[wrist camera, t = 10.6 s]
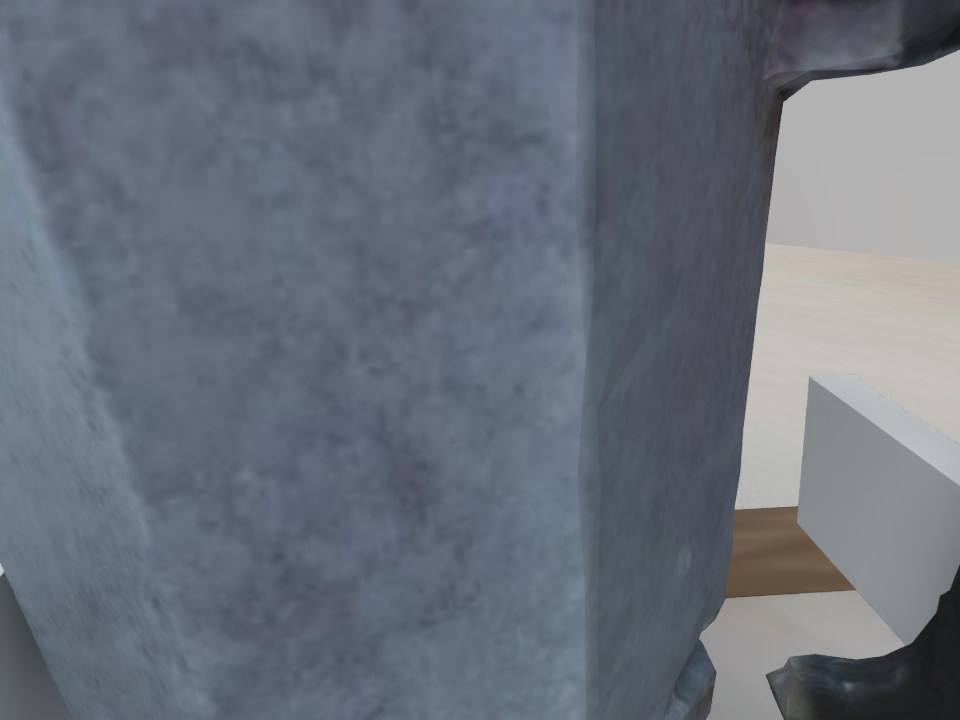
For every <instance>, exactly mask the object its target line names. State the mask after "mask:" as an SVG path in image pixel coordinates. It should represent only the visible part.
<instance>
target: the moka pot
mask: <svg viewBox="0 0 960 720" xmlns="http://www.w3.org/2000/svg"><path fill="white" fill-rule="evenodd" d="M957 50H960V0H0V563H1V565H2V568H3V570H4V572H5V574H6V577H7V579H8V581H9V583H10V585H11V588H12V590H13V592H14V594H15V596H16V599H17V601H18V603H19V605H20V608H21V610H22V612H23V614H24V616H25V619H26V621H27V623H28V625H29V628H30V630H31V632H32V634H33V636H34V639H35V641H36V643H37V645H38V647H39V649H40V651H41V654H42V656H43V658H44V660H45V662H46V664H47V667H48V669H49V671H50V673H51V675H52V677H53V679H54V682H55V684H56V686H57V688H58V690H59V692H60V694H61V697H62V699H63V701H64V703H65V705H66V707H67V709H68V712H69V714H70V716H71V718H72V719H73V720H706V718H707V716H708V715H709V713H710V709H711V703H712V696H713V690H714V684H715V678H716V671H715V668H714V666H713V664H712V662H711V660H710V658H709V656H708V654H707V652H706V650H705V648H704V645H703V644H702V642H701V641H700V640H699V636H700V634H701V632H702V631H703V630H705V629H706V628H707V627H708V626H709V625H710V624H711V623H712V622H713V621H714V620H715V618H716V616H717V614H718V612H719V611H720V609H721V607H722V605H723V603H724V601H725V597H726V586H727V576H728V569H729V563H730V557H731V552H732V545H733V526H734V507H735V501H736V494H737V488H738V482H739V476H740V468H741V453H742V438H743V426H744V418H745V410H746V401H747V393H748V385H749V376H750V368H751V360H752V351H753V343H754V334H755V325H756V315H757V306H758V299H759V293H760V286H761V280H762V273H763V261H764V250H765V238H766V230H767V222H768V214H769V207H770V199H771V190H772V182H773V173H774V165H775V156H776V149H777V142H778V135H779V128H780V121H781V114H782V107H783V102H784V101H785V100H787V99H788V98H789V97H791V96H792V95H793V94H794V93H796V92H797V91H798V90H800V89H801V88H802V87H804V86H805V85H806V84H808V83H809V82H810V81H813V80H821V79H832V78H841V77H850V76H860V75H870V74H876V73H881V72H887V71H893V70H898V69H904V68H909V67H915V66H921V65H925V64H927V63H929V62H932V61H934V60H936V59H939V58H941V57H944V56H946V55H948V54H951V53H953V52H955V51H957ZM766 677H767V679H768V682H769V685H770V687H771V690H772V693H773V695H774V698H775V700H776V703H777V705H778V707H779V709H780V712H781V714H782V716H783V718H784V720H960V565H959V567H958V570H957V572H956V575H955V577H954V580H953V583H952V585H951V588H950V590H949V591H947V592H945V593H944V594H942V595H940V597H939V602H938V607H937V612H936V613H935V615H934V616H933V617H932V618H931V620H930V621H929V622H928V623H927V625H926V626H925V627H924V628H923V630H922V631H921V632H920V633H919V635H918V636H917V637H916V638H915V640H914V641H913V642H912V643H911V644H909V645H907V646H904V647H902V648H900V649H898V650H896V651H894V652H891V653H889V654H887V655H885V656H880V657H873V658H866V659H858V660H854V659H847V658H840V657H832V656H825V655H817V654H813V655H804V656H795V657H790V658H789V659H788V661H787V663H786V664H785V666H784V667H783V668H781V669H778V670H776V671H773V672H771V673H768V674H766Z"/></svg>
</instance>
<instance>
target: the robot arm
mask: <svg viewBox="0 0 960 720" xmlns="http://www.w3.org/2000/svg"><path fill="white" fill-rule="evenodd" d="M797 524H798V525H799V526H800V527H801V528H802V529H803V530H804V531H805V533H806V534H807V535H808V536H809V537H810V538H811V539H812V540H813V542H814V543H815V544H816V545H817V546H818V547H819V548H820V549H821V551H822V552H823V553H824V554H825V555H826V556H827V557H828V558H829V560H830V561H831V562H832V563H833V564H834V565H835V566H836V567H837V569H838V570H839V571H840V572H841V573H842V574H843V575H844V576H845V578H846V579H847V580H848V581H849V582H850V583H851V584H852V585H853V587H854V588H855V589H856V590H857V591H858V592H859V593H860V594H861V596H862V597H863V598H864V599H865V600H866V601H867V602H868V603H869V605H870V606H871V607H872V608H873V609H874V610H875V611H876V612H877V614H878V615H879V616H880V617H881V618H882V619H883V620H884V621H885V623H886V624H887V625H888V626H889V627H890V628H891V629H892V630H893V632H894V633H895V634H896V635H897V636H898V637H899V638H900V639H901V641H902V642H903V643H904V644H905V645H906V646H907V645H909V644H911V643H912V642H913V641H914V640H915V638H916V637H917V636H918V635H919V633H920V632H921V631H922V630H923V628H924V627H925V626H926V625H927V623H928V622H929V621H930V620H931V618H932V617H933V616H934V615H935V613H936V612H937V607H938V602H939V597H940V595H942V594H944V593H945V592H947V591H949V590H950V588H951V585H952V583H953V580H954V577H955V575H956V572H957V570H958V567H959V565H960V443H958V442H957V441H955V440H953V439H952V438H950V437H949V436H947V435H946V434H944V433H943V432H941V431H940V430H938V429H937V428H935V427H933V426H932V425H930V424H929V423H927V422H926V421H924V420H923V419H921V418H920V417H918V416H916V415H915V414H913V413H912V412H910V411H909V410H907V409H906V408H904V407H903V406H901V405H900V404H898V403H896V402H895V401H893V400H892V399H890V398H889V397H887V396H886V395H884V394H883V393H881V392H880V391H878V390H876V389H875V388H873V387H872V386H870V385H869V384H867V383H866V382H864V381H863V380H861V379H859V378H858V377H856V376H855V375H853V374H850V375H831V376H811V377H809V387H808V399H807V410H806V422H805V433H804V445H803V456H802V468H801V479H800V491H799V503H798V514H797ZM0 720H73V719H72V718H71V716H70V714H69V712H68V709H67V707H66V705H65V703H64V701H63V699H62V697H61V694H60V692H59V690H58V688H57V686H56V684H55V682H54V679H53V677H52V675H51V673H50V671H49V669H48V667H47V664H46V662H45V660H44V658H43V656H42V654H41V651H40V649H39V647H38V645H37V643H36V641H35V639H34V636H33V634H32V632H31V630H30V628H29V625H28V623H27V621H26V619H25V616H24V614H23V612H22V610H21V608H20V605H19V603H18V601H17V599H16V596H15V594H14V592H13V590H12V588H11V585H10V583H9V581H8V579H7V577H6V574H5V572H4V570H3V568H2V565H1V563H0Z"/></svg>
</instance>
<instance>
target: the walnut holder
mask: <svg viewBox="0 0 960 720" xmlns="http://www.w3.org/2000/svg"><path fill="white" fill-rule="evenodd" d="M797 514H798V506H795V507H777V508H760V509H742V510H734V526H733V545H732V552H731V557H730V563H729V569H728V576H727V586H726V597H741V596H758V595H774V594H790V593H806V592H823V591H839V590H855V588H854V587H853V585H852V584H851V583H850V582H849V581H848V580H847V579H846V578H845V576H844V575H843V574H842V573H841V572H840V571H839V570H838V569H837V567H836V566H835V565H834V564H833V563H832V562H831V561H830V560H829V558H828V557H827V556H826V555H825V554H824V553H823V552H822V551H821V549H820V548H819V547H818V546H817V545H816V544H815V543H814V542H813V540H812V539H811V538H810V537H809V536H808V535H807V534H806V533H805V531H804V530H803V529H802V528H801V527H800V526H799V525H798V524H797Z"/></svg>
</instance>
